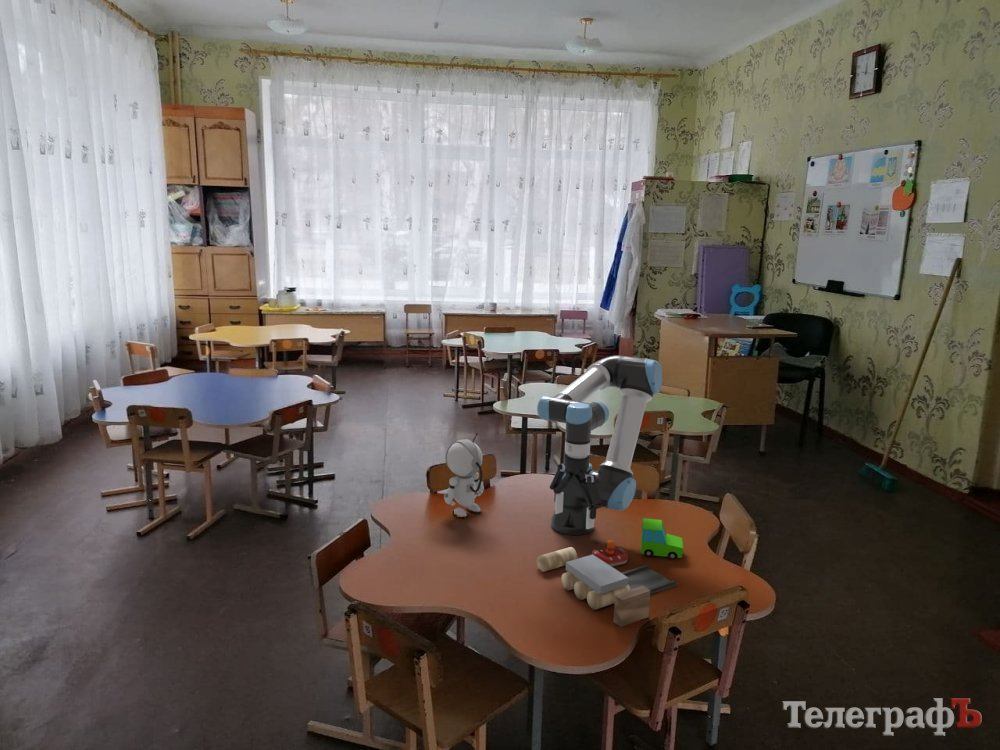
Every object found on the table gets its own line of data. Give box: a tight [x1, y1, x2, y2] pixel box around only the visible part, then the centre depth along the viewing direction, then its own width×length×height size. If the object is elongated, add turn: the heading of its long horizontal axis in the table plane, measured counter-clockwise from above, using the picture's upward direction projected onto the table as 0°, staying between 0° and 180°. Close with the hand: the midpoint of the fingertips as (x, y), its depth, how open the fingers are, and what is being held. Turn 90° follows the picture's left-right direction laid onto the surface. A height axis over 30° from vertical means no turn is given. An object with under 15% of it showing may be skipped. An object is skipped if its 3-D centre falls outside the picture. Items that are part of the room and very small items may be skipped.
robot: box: [443, 432, 484, 517], centre depth 258 cm, size 14×13×29 cm
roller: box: [536, 546, 578, 573], centre depth 222 cm, size 12×5×5 cm, turn 122°
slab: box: [565, 553, 628, 595], centre depth 205 cm, size 16×10×2 cm, turn 32°
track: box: [561, 564, 677, 628], centre depth 206 cm, size 26×30×8 cm
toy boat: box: [591, 539, 629, 567], centre depth 224 cm, size 8×12×8 cm, turn 114°
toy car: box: [640, 517, 685, 561], centre depth 231 cm, size 10×13×10 cm
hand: (574, 520), depth 218 cm, fingers open, 13 cm apart
